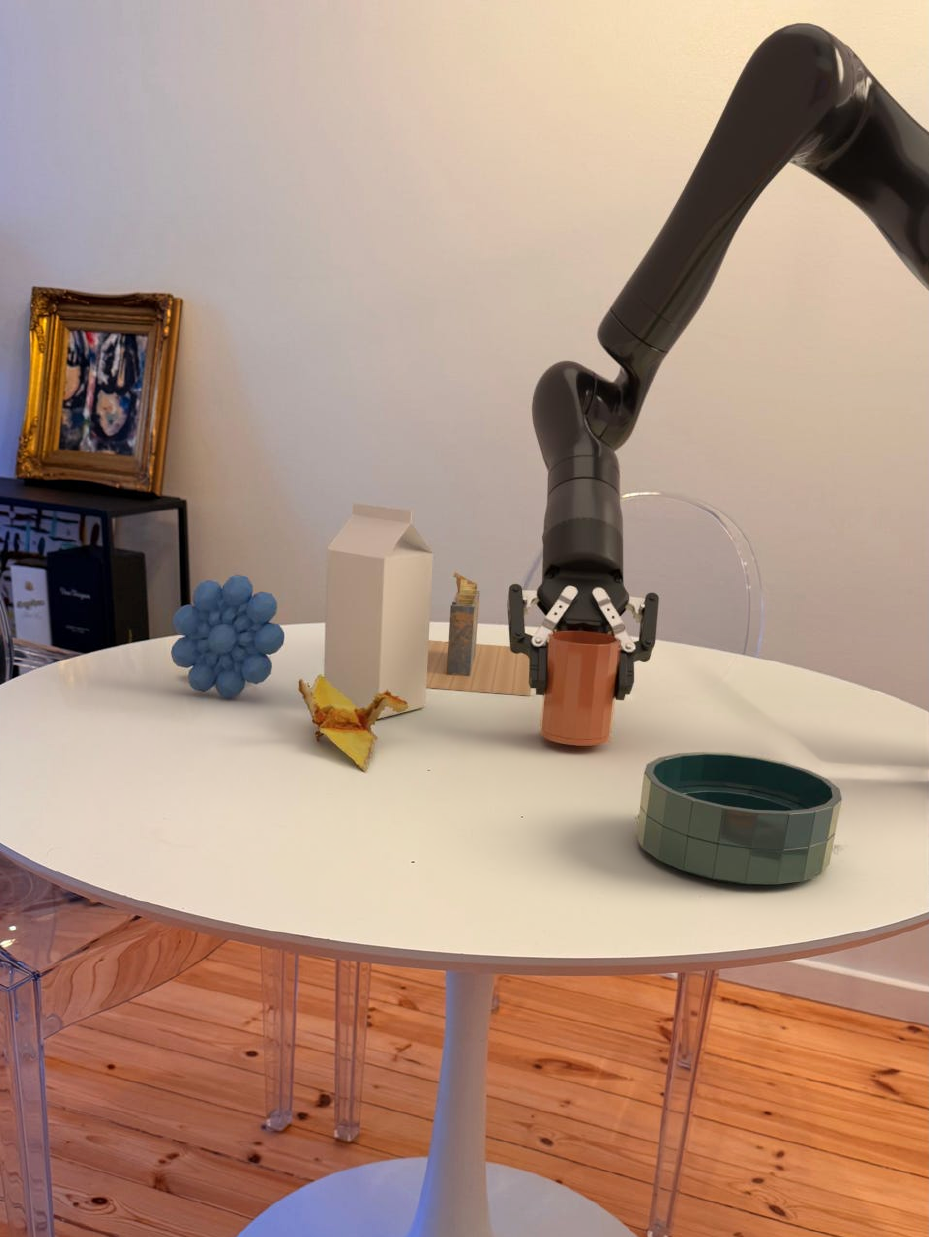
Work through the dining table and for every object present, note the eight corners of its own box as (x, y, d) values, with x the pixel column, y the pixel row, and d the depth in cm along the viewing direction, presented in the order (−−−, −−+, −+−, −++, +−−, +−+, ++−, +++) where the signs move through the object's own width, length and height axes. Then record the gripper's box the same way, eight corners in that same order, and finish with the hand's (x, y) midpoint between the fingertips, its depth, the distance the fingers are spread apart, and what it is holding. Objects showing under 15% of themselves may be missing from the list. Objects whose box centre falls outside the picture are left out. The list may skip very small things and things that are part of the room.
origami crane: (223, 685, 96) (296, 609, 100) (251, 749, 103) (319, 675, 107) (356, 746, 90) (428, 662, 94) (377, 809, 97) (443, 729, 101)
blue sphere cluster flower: (300, 695, 114) (302, 574, 110) (273, 711, 108) (274, 583, 104) (193, 681, 117) (191, 562, 113) (160, 696, 111) (157, 570, 106)
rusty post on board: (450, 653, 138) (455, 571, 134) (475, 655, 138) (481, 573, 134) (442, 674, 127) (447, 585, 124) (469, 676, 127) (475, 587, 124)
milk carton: (377, 721, 107) (386, 512, 101) (322, 705, 111) (327, 503, 104) (425, 708, 113) (436, 509, 106) (371, 694, 116) (378, 501, 110)
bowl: (789, 824, 87) (801, 755, 85) (857, 895, 75) (873, 817, 73) (619, 818, 86) (627, 748, 84) (660, 889, 74) (671, 809, 72)
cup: (603, 727, 107) (613, 631, 104) (616, 747, 101) (627, 646, 98) (535, 724, 107) (543, 628, 103) (544, 744, 101) (553, 643, 97)
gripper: (509, 509, 104) (502, 665, 97) (666, 519, 104) (670, 675, 97) (504, 561, 111) (497, 709, 104) (651, 570, 111) (654, 719, 104)
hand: (581, 692), depth 101 cm, fingers closed on cup, 6 cm apart
